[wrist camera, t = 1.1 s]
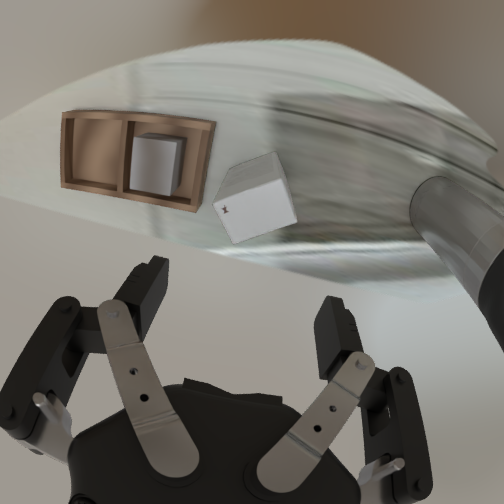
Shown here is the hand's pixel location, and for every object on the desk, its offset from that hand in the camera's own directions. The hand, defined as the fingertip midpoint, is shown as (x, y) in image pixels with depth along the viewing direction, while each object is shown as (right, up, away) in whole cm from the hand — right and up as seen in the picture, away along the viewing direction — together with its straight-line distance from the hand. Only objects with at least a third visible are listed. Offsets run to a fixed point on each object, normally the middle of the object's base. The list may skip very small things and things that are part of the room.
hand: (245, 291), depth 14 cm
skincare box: (+1, +11, +19) cm, 22 cm away
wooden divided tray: (-15, +15, +18) cm, 27 cm away
